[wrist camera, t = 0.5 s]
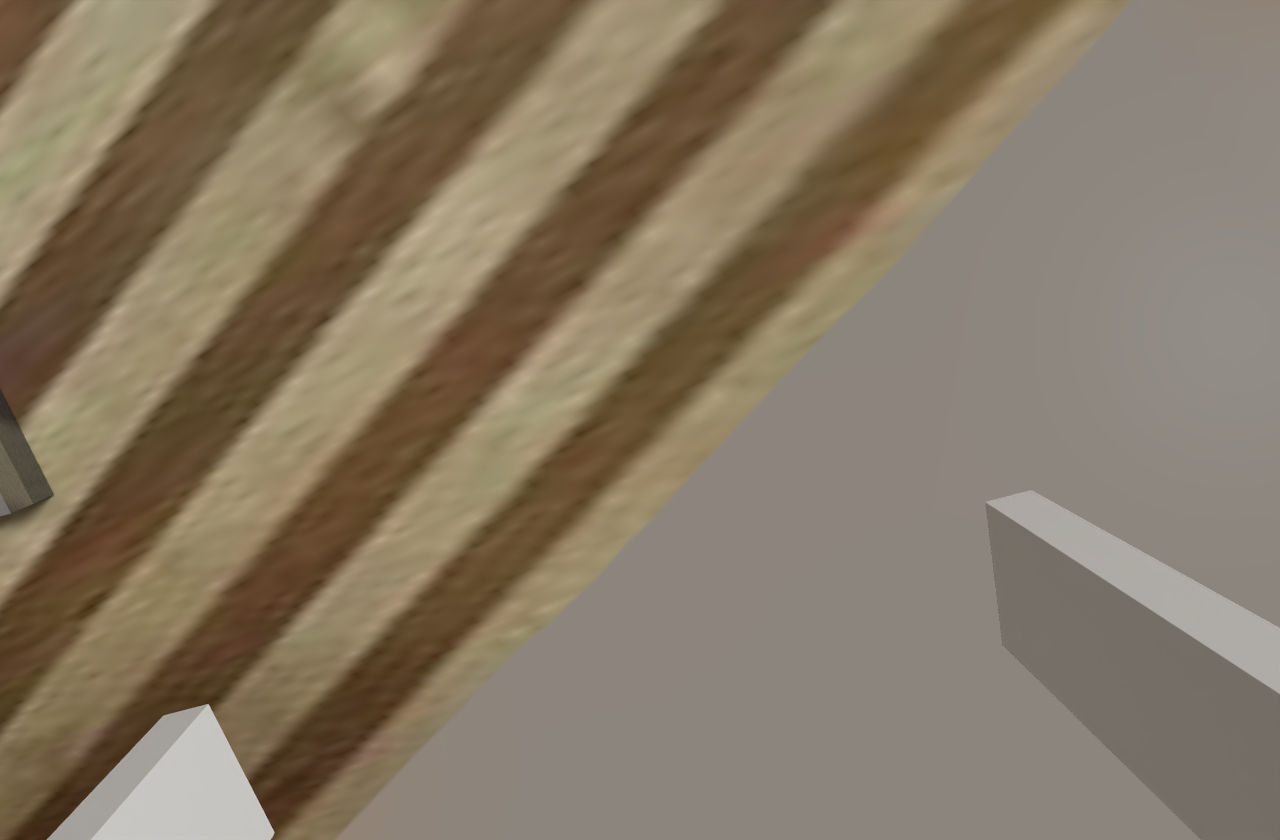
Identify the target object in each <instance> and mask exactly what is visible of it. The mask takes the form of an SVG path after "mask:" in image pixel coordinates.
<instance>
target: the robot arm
mask: <svg viewBox="0 0 1280 840" xmlns="http://www.w3.org/2000/svg"><path fill="white" fill-rule="evenodd" d="M986 511H987V520H988V528H989V536H990V545H991V554H992V562H993V571H994V579H995V587H996V595H997V604H998V613H999V621H1000V630H1001V638H1002V645H1003V646H1004V647H1005V648H1006V649H1007V650H1008V651H1009V652H1010V653H1011V654H1012V655H1013V656H1014V657H1015V658H1016V659H1017V660H1018V661H1019V662H1020V663H1021V664H1022V665H1023V666H1024V667H1025V668H1026V669H1027V670H1029V672H1031V674H1032V675H1034V677H1036V678H1037V679H1038V680H1039V681H1040V682H1041V683H1042V684H1043V685H1044V686H1045V687H1046V688H1047V689H1048V690H1049V691H1050V692H1051V693H1052V694H1053V695H1054V696H1055V697H1056V698H1057V699H1058V700H1059V701H1060V702H1061V703H1062V704H1063V705H1064V706H1065V707H1066V708H1067V709H1068V710H1069V711H1070V712H1071V713H1072V714H1073V715H1074V716H1076V718H1077V719H1078V720H1079V721H1080V722H1082V724H1083V725H1085V726H1086V727H1087V728H1088V729H1089V730H1090V731H1091V732H1092V733H1093V734H1094V735H1095V736H1096V737H1097V738H1098V739H1099V740H1100V741H1101V742H1102V743H1103V744H1104V745H1105V746H1106V747H1107V748H1108V749H1109V750H1110V751H1111V752H1112V753H1113V754H1114V755H1115V756H1116V757H1117V758H1118V759H1119V760H1120V761H1121V762H1122V763H1123V764H1124V765H1125V766H1126V767H1127V768H1128V769H1129V770H1130V771H1131V772H1133V774H1135V775H1136V776H1137V777H1138V778H1139V779H1140V780H1141V781H1142V782H1143V783H1144V784H1145V785H1146V786H1147V787H1148V788H1149V789H1150V790H1151V791H1152V792H1153V793H1154V794H1155V795H1156V796H1157V797H1158V798H1159V799H1160V800H1161V801H1162V802H1163V803H1164V804H1165V805H1166V806H1167V807H1168V808H1169V809H1170V810H1171V811H1172V812H1173V813H1174V814H1175V815H1176V816H1177V817H1179V819H1180V820H1181V821H1183V822H1184V823H1185V824H1186V825H1187V826H1188V827H1189V828H1190V829H1191V830H1192V831H1193V832H1194V833H1195V834H1196V835H1197V836H1198V837H1199V838H1200V839H1201V840H1280V628H1278V627H1277V626H1275V625H1273V624H1271V623H1270V622H1268V621H1266V620H1264V619H1262V618H1260V617H1259V616H1257V615H1255V614H1253V613H1251V612H1250V611H1248V610H1246V609H1244V608H1242V607H1241V606H1239V605H1237V604H1235V603H1233V602H1231V601H1230V600H1228V599H1226V598H1224V597H1223V596H1221V595H1219V594H1217V593H1215V592H1214V591H1212V590H1210V589H1208V588H1206V587H1205V586H1203V585H1201V584H1199V583H1197V582H1196V581H1194V580H1192V579H1190V578H1188V577H1187V576H1185V575H1183V574H1181V573H1179V572H1178V571H1176V570H1174V569H1172V568H1170V567H1169V566H1167V565H1165V564H1163V563H1161V562H1160V561H1158V560H1156V559H1154V558H1152V557H1151V556H1149V555H1147V554H1145V553H1143V552H1142V551H1140V550H1138V549H1136V548H1134V547H1133V546H1131V545H1129V544H1127V543H1125V542H1124V541H1122V540H1120V539H1118V538H1116V537H1115V536H1113V535H1111V534H1109V533H1107V532H1106V531H1104V530H1102V529H1100V528H1098V527H1097V526H1095V525H1093V524H1091V523H1089V522H1088V521H1086V520H1084V519H1082V518H1080V517H1078V516H1077V515H1075V514H1073V513H1071V512H1070V511H1068V510H1066V509H1064V508H1062V507H1061V506H1059V505H1057V504H1055V503H1053V502H1052V501H1050V500H1048V499H1046V498H1044V497H1042V496H1041V495H1039V494H1037V493H1035V492H1034V491H1032V490H1030V491H1026V492H1022V493H1018V494H1015V495H1011V496H1007V497H1003V498H1000V499H996V500H992V501H988V502H986ZM273 835H274V831H273V829H272V827H271V825H270V823H269V821H268V819H267V817H266V815H265V813H264V811H263V809H262V807H261V805H260V803H259V801H258V799H257V798H256V796H255V794H254V792H253V790H252V788H251V786H250V784H249V782H248V780H247V778H246V776H245V774H244V772H243V770H242V768H241V766H240V764H239V763H238V761H237V759H236V757H235V755H234V753H233V751H232V749H231V747H230V745H229V743H228V741H227V739H226V737H225V735H224V733H223V731H222V729H221V728H220V726H219V724H218V722H217V720H216V718H215V716H214V714H213V712H212V710H211V708H210V706H209V704H206V705H203V706H199V707H195V708H191V709H187V710H183V711H179V712H176V713H172V714H168V715H164V716H163V717H162V718H161V719H160V720H159V721H158V722H157V723H156V724H155V725H154V726H153V727H152V728H151V729H150V730H149V732H148V733H147V734H146V735H145V736H144V737H143V738H142V739H141V740H140V741H139V742H138V743H137V744H136V745H135V746H134V747H133V749H132V750H131V751H130V752H129V753H128V754H127V755H126V756H125V757H124V758H123V759H122V760H121V761H120V762H119V763H118V764H117V766H116V767H115V768H114V769H113V770H112V771H111V772H110V773H109V774H108V775H107V776H106V777H105V778H104V779H103V780H102V781H101V783H100V784H99V785H98V786H97V787H96V788H95V789H94V790H93V791H92V792H91V793H90V794H89V795H88V796H87V797H86V799H85V800H84V801H83V802H82V803H81V804H80V805H79V806H78V807H77V808H76V809H75V810H74V811H73V812H72V813H71V814H70V816H69V817H68V818H67V819H66V820H65V821H64V822H63V823H62V824H61V825H60V826H59V827H58V828H57V829H56V830H55V831H54V833H53V834H52V835H51V836H50V837H49V838H48V839H47V840H271V838H272V837H273Z"/></svg>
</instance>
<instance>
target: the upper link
mask: <svg viewBox="0 0 1280 840" xmlns="http://www.w3.org/2000/svg"><path fill="white" fill-rule="evenodd" d="M52 495H54V494H53V493H52V491H51V489H50V487H49V485H48V483H47V481H46V479H45V477H44V475H43V473H42V471H41V469H40V467H39V465H38V463H37V461H36V459H35V457H34V455H33V453H32V451H31V449H30V447H29V445H28V443H27V441H26V439H25V437H24V435H23V434H22V432H21V430H20V428H19V426H18V424H17V422H16V420H15V418H14V416H13V414H12V412H11V410H10V408H9V406H8V404H7V402H6V400H5V398H4V396H3V394H2V392H1V390H0V516H3V515H8V514H11V513H14V512H16V511H18V510H21V509H23V508H25V507H27V506H30V505H32V504H34V503H36V502H39V501H41V500H43V499H45V498H48V497H50V496H52Z"/></svg>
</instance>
